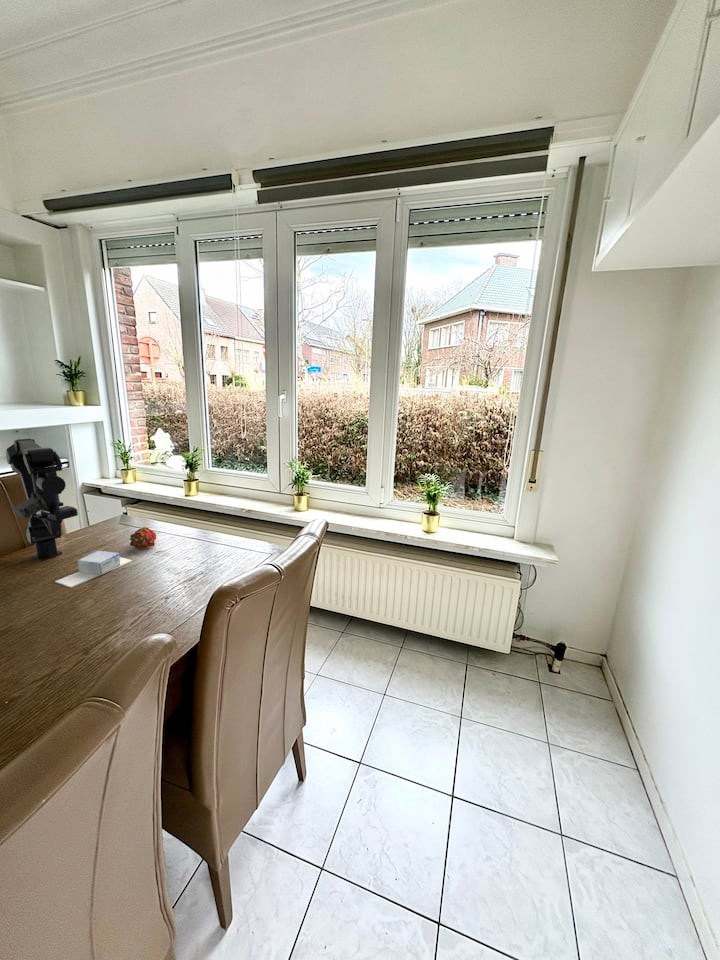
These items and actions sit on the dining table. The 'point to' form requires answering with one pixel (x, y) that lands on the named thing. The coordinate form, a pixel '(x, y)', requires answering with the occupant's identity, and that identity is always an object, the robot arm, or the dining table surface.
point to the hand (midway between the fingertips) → (53, 534)
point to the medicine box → (99, 562)
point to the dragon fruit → (143, 538)
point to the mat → (85, 576)
